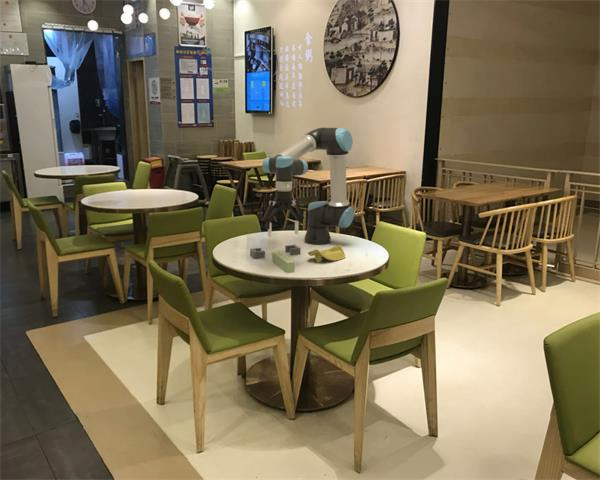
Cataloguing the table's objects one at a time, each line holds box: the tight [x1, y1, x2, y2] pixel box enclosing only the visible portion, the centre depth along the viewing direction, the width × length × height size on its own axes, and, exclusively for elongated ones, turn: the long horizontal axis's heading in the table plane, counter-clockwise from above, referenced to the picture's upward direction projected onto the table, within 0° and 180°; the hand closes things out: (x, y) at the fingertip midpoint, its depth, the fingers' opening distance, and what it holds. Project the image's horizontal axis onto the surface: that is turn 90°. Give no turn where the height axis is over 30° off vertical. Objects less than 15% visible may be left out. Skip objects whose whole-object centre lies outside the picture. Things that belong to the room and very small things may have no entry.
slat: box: [271, 251, 296, 274], centre depth 246 cm, size 20×4×5 cm, turn 23°
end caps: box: [249, 244, 301, 260], centre depth 267 cm, size 25×7×4 cm, turn 113°
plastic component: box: [307, 245, 346, 262], centre depth 260 cm, size 20×7×10 cm
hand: (283, 235), depth 243 cm, fingers open, 13 cm apart
